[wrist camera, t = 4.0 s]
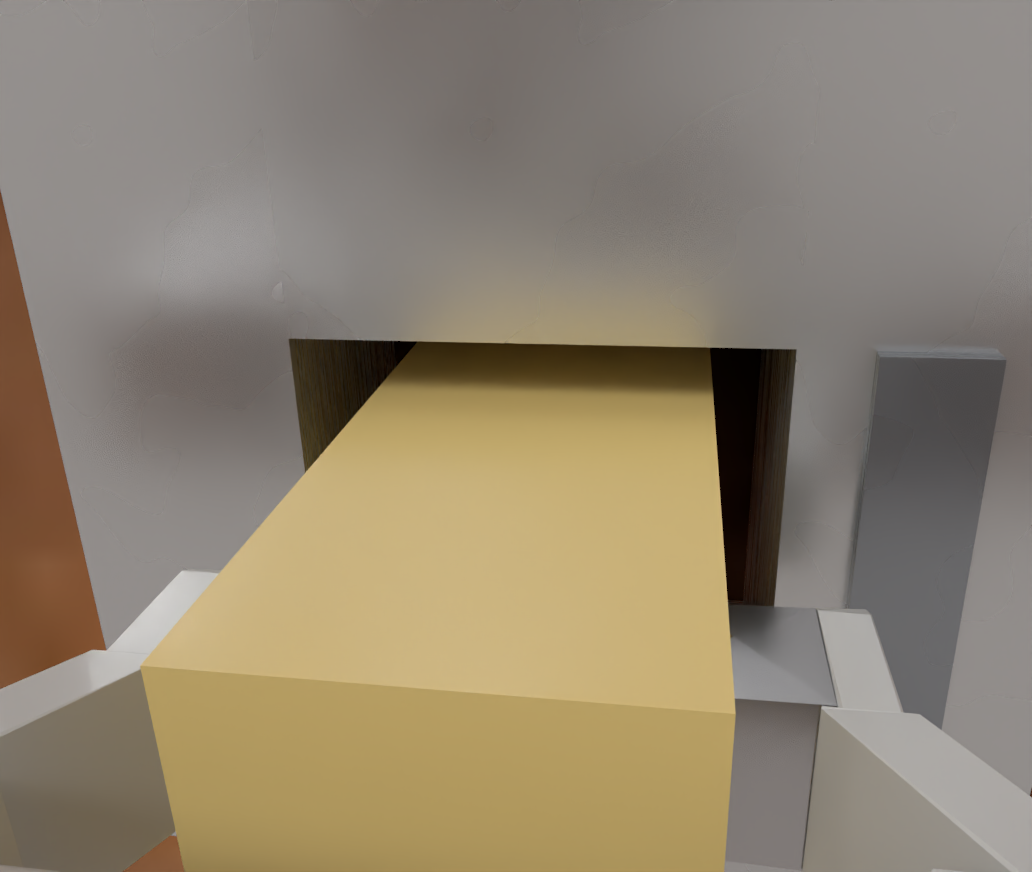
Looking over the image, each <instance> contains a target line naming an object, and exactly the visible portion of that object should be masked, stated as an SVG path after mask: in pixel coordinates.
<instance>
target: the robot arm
mask: <svg viewBox="0 0 1032 872" xmlns="http://www.w3.org/2000/svg"><path fill="white" fill-rule="evenodd" d="M221 571H222V570H212V569H188V570H182V571H181V572H180V573H179V574H178V575H177V576H176V577H175V578H174V579H173V580H172V581H171V582H170V583H169V585H168V586H167V587H166V588H165V589H164V590H163V591H162V592H161V593H160V594H159V595H158V596H157V597H156V598H155V599H154V600H153V602H152V603H151V604H150V605H149V606H148V607H147V608H146V609H145V610H144V611H143V612H142V613H141V614H140V615H139V616H138V617H137V619H136V620H135V621H134V622H133V623H132V624H131V625H130V626H129V627H128V628H127V629H126V630H125V631H124V632H123V633H122V635H121V636H120V637H119V638H118V639H117V640H116V641H115V642H114V643H113V644H112V645H111V646H110V647H109V648H108V649H107V650H106V651H103V650H91V651H88V652H86V653H84V654H81V655H79V656H77V657H74V658H72V659H70V660H67V661H65V662H63V663H60V664H58V665H56V666H53V667H51V668H49V669H46V670H44V671H42V672H39V673H37V674H35V675H32V676H30V677H28V678H25V679H23V680H21V681H18V682H16V683H14V684H11V685H9V686H7V687H4V688H2V689H0V872H122V871H124V870H125V869H126V868H128V867H129V866H130V865H132V864H133V863H134V862H136V861H137V860H138V859H140V858H141V857H142V856H144V855H145V854H146V853H148V852H149V851H150V850H152V849H153V848H154V847H156V846H157V845H158V844H160V843H161V842H162V841H164V840H165V839H166V838H167V837H169V836H170V835H171V834H173V833H174V832H175V831H176V830H175V825H174V821H173V816H172V811H171V807H170V802H169V798H168V793H167V788H166V784H165V779H164V774H163V770H162V765H161V761H160V756H159V751H158V747H157V742H156V737H155V733H154V728H153V724H152V719H151V714H150V710H149V705H148V700H147V696H146V691H145V687H144V682H143V677H142V673H141V668H140V665H141V664H142V663H143V662H144V661H145V659H146V658H147V657H148V656H149V655H150V654H151V652H152V651H153V650H154V649H155V648H156V647H157V645H158V644H159V643H160V642H161V641H162V640H163V638H164V637H165V636H166V635H167V634H168V633H169V631H170V630H171V629H172V628H173V627H174V625H175V624H176V623H177V622H178V621H179V620H180V618H181V617H182V616H183V615H184V614H185V613H186V611H187V610H188V609H189V608H190V607H191V606H192V604H193V603H194V602H195V601H196V600H197V599H198V597H199V596H200V595H201V594H202V593H203V592H204V590H205V589H206V588H207V587H208V586H209V585H210V583H211V582H212V581H213V580H214V579H215V578H216V576H217V575H218V574H219V573H220V572H221ZM728 612H729V626H730V641H731V655H732V669H733V683H734V698H735V712H736V716H735V730H734V743H733V757H732V770H731V784H730V798H729V811H728V825H727V838H726V852H725V861H730V862H738V863H745V864H753V865H760V866H768V867H776V868H783V869H791V870H799V871H802V872H1032V797H1030V796H1029V795H1028V794H1026V793H1025V792H1024V791H1022V790H1021V789H1020V788H1018V787H1017V786H1016V785H1014V784H1013V783H1012V782H1010V781H1009V780H1008V779H1006V778H1005V777H1004V776H1002V775H1001V774H1000V773H998V772H997V771H996V770H994V769H993V768H991V767H990V766H989V765H987V764H986V763H985V762H983V761H982V760H981V759H979V758H978V757H977V756H975V755H974V754H973V753H971V752H970V751H969V750H967V749H966V748H965V747H963V746H962V745H961V744H959V743H958V742H957V741H955V740H954V739H952V738H951V737H950V736H948V735H947V734H946V733H944V732H943V731H942V730H940V729H939V728H938V727H936V726H935V725H934V724H932V723H931V722H930V721H928V720H927V719H926V718H924V717H923V716H922V715H920V714H913V713H904V712H903V709H902V706H901V703H900V700H899V697H898V693H897V690H896V687H895V684H894V681H893V678H892V675H891V672H890V669H889V666H888V663H887V660H886V657H885V654H884V650H883V647H882V644H881V641H880V638H879V635H878V632H877V629H876V626H875V623H874V620H873V617H872V614H871V613H870V612H868V611H867V610H866V609H836V608H800V607H773V606H747V605H728Z"/></svg>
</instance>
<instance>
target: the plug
mask: <svg viewBox="0 0 1032 872" xmlns="http://www.w3.org/2000/svg"><path fill="white" fill-rule="evenodd" d="M140 668H141V673H142V677H143V682H144V687H145V691H146V696H147V700H148V705H149V710H150V714H151V719H152V724H153V728H154V733H155V737H156V742H157V747H158V751H159V756H160V761H161V765H162V770H163V774H164V779H165V784H166V788H167V793H168V798H169V802H170V807H171V811H172V816H173V821H174V825H175V830H176V835H177V839H178V844H179V849H180V853H181V858H182V862H183V867H184V872H724V865H725V852H726V838H727V825H728V811H729V798H730V784H731V770H732V757H733V743H734V730H735V716H736V712H735V698H734V683H733V669H732V655H731V641H730V626H729V612H728V598H727V584H726V569H725V555H724V541H723V527H722V512H721V498H720V484H719V470H718V455H717V441H716V427H715V413H714V398H713V384H712V370H711V356H710V348H708V347H660V346H613V345H566V344H519V343H472V342H425V341H418V342H417V343H416V344H415V345H414V347H413V348H412V349H411V350H410V351H409V352H408V354H407V355H406V356H405V357H404V358H403V359H402V361H401V362H400V363H399V364H398V365H397V366H396V368H395V369H394V370H393V371H392V372H391V373H390V375H389V376H388V377H387V378H386V379H385V380H384V382H383V383H382V384H381V385H380V386H379V387H378V389H377V390H376V391H375V392H374V393H373V394H372V396H371V397H370V398H369V399H368V400H367V401H366V403H365V404H364V405H363V406H362V407H361V408H360V410H359V411H358V412H357V413H356V414H355V415H354V417H353V418H352V419H351V420H350V421H349V422H348V424H347V425H346V426H345V427H344V428H343V429H342V431H341V432H340V433H339V434H338V435H337V436H336V438H335V439H334V440H333V441H332V442H331V443H330V445H329V446H328V447H327V448H326V449H325V450H324V452H323V453H322V454H321V455H320V456H319V457H318V459H317V460H316V461H315V462H314V463H313V464H312V466H311V467H310V468H309V469H308V470H307V471H306V473H305V474H304V475H303V476H302V477H301V478H300V480H299V481H298V482H297V483H296V484H295V485H294V487H293V488H292V489H291V490H290V491H289V492H288V494H287V495H286V496H285V497H284V498H283V499H282V501H281V502H280V503H279V504H278V505H277V506H276V508H275V509H274V510H273V511H272V512H271V513H270V515H269V516H268V517H267V518H266V519H265V520H264V522H263V523H262V524H261V525H260V526H259V527H258V529H257V530H256V531H255V532H254V533H253V534H252V536H251V537H250V538H249V539H248V540H247V541H246V543H245V544H244V545H243V546H242V547H241V548H240V550H239V551H238V552H237V553H236V554H235V555H234V557H233V558H232V559H231V560H230V561H229V562H228V564H227V565H226V566H225V567H224V568H223V569H222V571H221V572H220V573H219V574H218V575H217V576H216V578H215V579H214V580H213V581H212V582H211V583H210V585H209V586H208V587H207V588H206V589H205V590H204V592H203V593H202V594H201V595H200V596H199V597H198V599H197V600H196V601H195V602H194V603H193V604H192V606H191V607H190V608H189V609H188V610H187V611H186V613H185V614H184V615H183V616H182V617H181V618H180V620H179V621H178V622H177V623H176V624H175V625H174V627H173V628H172V629H171V630H170V631H169V633H168V634H167V635H166V636H165V637H164V638H163V640H162V641H161V642H160V643H159V644H158V645H157V647H156V648H155V649H154V650H153V651H152V652H151V654H150V655H149V656H148V657H147V658H146V659H145V661H144V662H143V663H142V664H141V665H140Z"/></svg>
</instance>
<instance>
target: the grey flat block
mask: <svg viewBox="0 0 1032 872" xmlns="http://www.w3.org/2000/svg"><path fill="white" fill-rule="evenodd" d="M0 190H1V195H2V199H3V203H4V208H5V212H6V216H7V221H8V225H9V229H10V234H11V238H12V242H13V247H14V251H15V255H16V260H17V264H18V268H19V273H20V277H21V281H22V286H23V290H24V294H25V299H26V303H27V307H28V312H29V316H30V320H31V325H32V329H33V333H34V338H35V342H36V346H37V351H38V355H39V359H40V364H41V368H42V373H43V377H44V381H45V386H46V390H47V394H48V399H49V403H50V407H51V412H52V416H53V420H54V425H55V429H56V433H57V438H58V442H59V446H60V451H61V455H62V459H63V464H64V468H65V472H66V477H67V481H68V485H69V490H70V494H71V498H72V503H73V507H74V511H75V516H76V520H77V524H78V529H79V533H80V537H81V542H82V546H83V550H84V555H85V559H86V564H87V568H88V572H89V577H90V581H91V585H92V590H93V594H94V598H95V603H96V607H97V611H98V616H99V620H100V624H101V629H102V633H103V637H104V642H105V646H106V650H107V649H108V648H109V647H110V646H111V645H112V644H113V643H114V642H115V641H116V640H117V639H118V638H119V637H120V636H121V635H122V633H123V632H124V631H125V630H126V629H127V628H128V627H129V626H130V625H131V624H132V623H133V622H134V621H135V620H136V619H137V617H138V616H139V615H140V614H141V613H142V612H143V611H144V610H145V609H146V608H147V607H148V606H149V605H150V604H151V603H152V602H153V600H154V599H155V598H156V597H157V596H158V595H159V594H160V593H161V592H162V591H163V590H164V589H165V588H166V587H167V586H168V585H169V583H170V582H171V581H172V580H173V579H174V578H175V577H176V576H177V575H178V574H179V573H180V572H181V571H182V570H188V569H212V570H222V569H223V568H224V567H225V566H226V565H227V564H228V562H229V561H230V560H231V559H232V558H233V557H234V555H235V554H236V553H237V552H238V551H239V550H240V548H241V547H242V546H243V545H244V544H245V543H246V541H247V540H248V539H249V538H250V537H251V536H252V534H253V533H254V532H255V531H256V530H257V529H258V527H259V526H260V525H261V524H262V523H263V522H264V520H265V519H266V518H267V517H268V516H269V515H270V513H271V512H272V511H273V510H274V509H275V508H276V506H277V505H278V504H279V503H280V502H281V501H282V499H283V498H284V497H285V496H286V495H287V494H288V492H289V491H290V490H291V489H292V488H293V487H294V485H295V484H296V483H297V482H298V481H299V480H300V478H301V477H302V476H303V475H304V474H305V473H306V471H307V470H308V469H309V468H310V467H311V466H312V464H313V463H314V462H315V461H316V460H317V459H318V457H319V456H320V455H321V454H322V453H323V452H324V450H325V449H326V448H327V447H328V446H329V445H330V443H331V442H332V441H333V440H334V439H335V438H336V436H337V435H338V434H339V433H340V432H341V431H342V429H343V428H344V427H345V426H346V425H347V424H348V422H349V421H350V420H351V419H352V418H353V417H354V415H355V414H356V413H357V412H358V411H359V410H360V408H361V407H362V406H363V405H364V404H365V403H366V401H367V400H368V399H369V398H370V397H371V396H372V394H373V393H374V392H375V391H376V390H377V389H378V387H379V386H380V385H381V384H382V383H383V382H384V380H385V379H386V378H387V377H388V376H389V375H390V373H391V372H392V371H393V370H394V369H395V368H396V359H395V347H394V341H425V342H472V343H519V344H566V345H613V346H660V347H708V348H755V349H761V361H760V375H759V388H758V402H757V416H756V429H755V443H754V457H753V470H752V484H751V498H750V512H749V525H748V539H747V553H746V566H745V580H744V594H743V601H736V600H728V605H747V606H773V607H800V608H836V609H866V610H867V611H868V612H870V613H871V614H872V617H873V620H874V623H875V626H876V629H877V632H878V635H879V638H880V641H881V644H882V647H883V650H884V654H885V657H886V660H887V663H888V666H889V669H890V672H891V675H892V678H893V681H894V684H895V687H896V690H897V693H898V697H899V700H900V703H901V706H902V709H903V712H904V713H913V714H920V715H922V716H923V717H924V718H926V719H927V720H928V721H930V722H931V723H932V724H934V725H935V726H936V727H938V728H939V729H940V730H942V731H943V732H944V733H946V734H947V735H948V736H950V737H951V738H952V739H954V740H955V741H957V742H958V743H959V744H961V745H962V746H963V747H965V748H966V749H967V750H969V751H970V752H971V753H973V754H974V755H975V756H977V757H978V758H979V759H981V760H982V761H983V762H985V763H986V764H987V765H989V766H990V767H991V768H993V769H994V770H996V771H997V772H998V773H1000V774H1001V775H1002V776H1004V777H1005V778H1006V779H1008V780H1009V781H1010V782H1012V783H1013V784H1014V785H1016V786H1017V787H1018V788H1020V789H1021V790H1022V791H1024V792H1025V793H1026V794H1028V795H1029V796H1030V792H1031V788H1032V0H0ZM171 835H172V836H177V835H176V831H175V832H174V833H173V834H171ZM724 872H802V871H799V870H791V869H783V868H776V867H768V866H760V865H753V864H745V863H738V862H730V861H725V865H724Z"/></svg>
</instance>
